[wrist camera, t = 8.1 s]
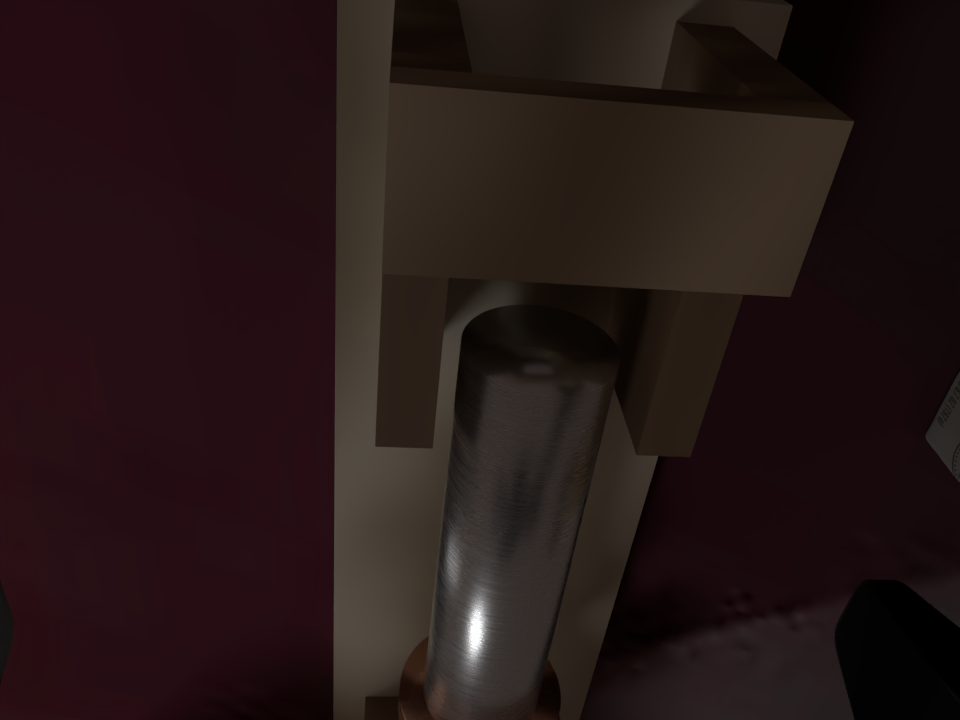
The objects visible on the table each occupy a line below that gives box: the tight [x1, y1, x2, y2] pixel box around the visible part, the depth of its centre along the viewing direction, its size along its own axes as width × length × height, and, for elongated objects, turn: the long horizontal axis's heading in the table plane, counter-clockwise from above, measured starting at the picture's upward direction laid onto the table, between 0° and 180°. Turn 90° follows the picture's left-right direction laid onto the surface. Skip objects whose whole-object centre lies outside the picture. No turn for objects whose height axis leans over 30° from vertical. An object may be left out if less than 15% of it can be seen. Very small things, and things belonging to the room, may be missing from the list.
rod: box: [398, 305, 620, 720], centre depth 23 cm, size 5×19×5 cm, turn 174°
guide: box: [333, 0, 854, 720], centre depth 22 cm, size 9×27×7 cm, turn 174°
